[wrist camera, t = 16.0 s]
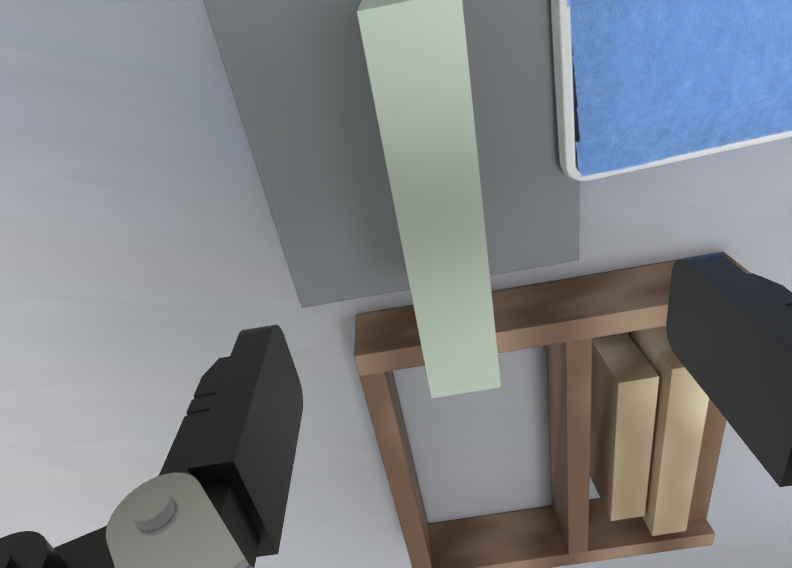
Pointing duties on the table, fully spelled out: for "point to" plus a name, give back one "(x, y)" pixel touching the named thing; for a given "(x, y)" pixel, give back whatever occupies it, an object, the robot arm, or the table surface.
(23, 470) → the table surface
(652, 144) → the tablet computer
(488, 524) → the storage rack
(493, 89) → the mat
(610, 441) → the offcut stack
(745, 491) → the table surface
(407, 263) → the tall block
